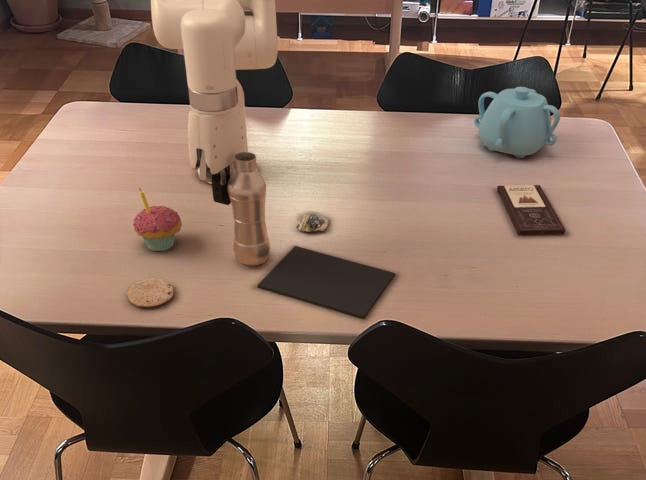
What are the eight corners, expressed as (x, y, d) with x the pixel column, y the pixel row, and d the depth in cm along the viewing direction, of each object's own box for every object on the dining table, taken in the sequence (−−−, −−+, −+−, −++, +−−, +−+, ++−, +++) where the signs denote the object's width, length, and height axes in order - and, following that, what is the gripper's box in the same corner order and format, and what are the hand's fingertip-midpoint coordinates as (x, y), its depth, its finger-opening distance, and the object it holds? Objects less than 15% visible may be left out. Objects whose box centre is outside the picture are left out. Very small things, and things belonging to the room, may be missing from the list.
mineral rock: (298, 236, 137) (297, 227, 135) (291, 215, 143) (291, 206, 141) (332, 233, 138) (333, 224, 136) (325, 212, 144) (325, 204, 142)
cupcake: (144, 261, 130) (133, 201, 122) (131, 238, 135) (120, 180, 127) (190, 249, 133) (182, 190, 125) (175, 228, 138) (167, 170, 130)
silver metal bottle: (265, 272, 128) (259, 167, 114) (229, 267, 129) (218, 163, 115) (275, 252, 132) (270, 150, 119) (240, 248, 133) (231, 146, 120)
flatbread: (174, 306, 119) (173, 301, 119) (128, 311, 118) (126, 306, 118) (172, 278, 125) (171, 273, 125) (128, 283, 124) (127, 278, 124)
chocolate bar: (519, 230, 137) (497, 185, 151) (518, 235, 138) (497, 189, 151) (565, 229, 138) (539, 185, 151) (564, 234, 138) (538, 189, 152)
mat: (257, 287, 124) (257, 285, 124) (295, 247, 134) (295, 245, 133) (363, 319, 118) (363, 316, 118) (395, 275, 127) (395, 272, 127)
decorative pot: (486, 164, 161) (496, 104, 152) (468, 133, 173) (476, 76, 164) (556, 161, 162) (570, 102, 153) (534, 131, 174) (546, 74, 165)
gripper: (219, 77, 119) (228, 179, 131) (165, 109, 109) (181, 216, 121) (258, 85, 117) (264, 188, 129) (207, 118, 107) (218, 226, 119)
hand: (223, 201), depth 125 cm, fingers closed
